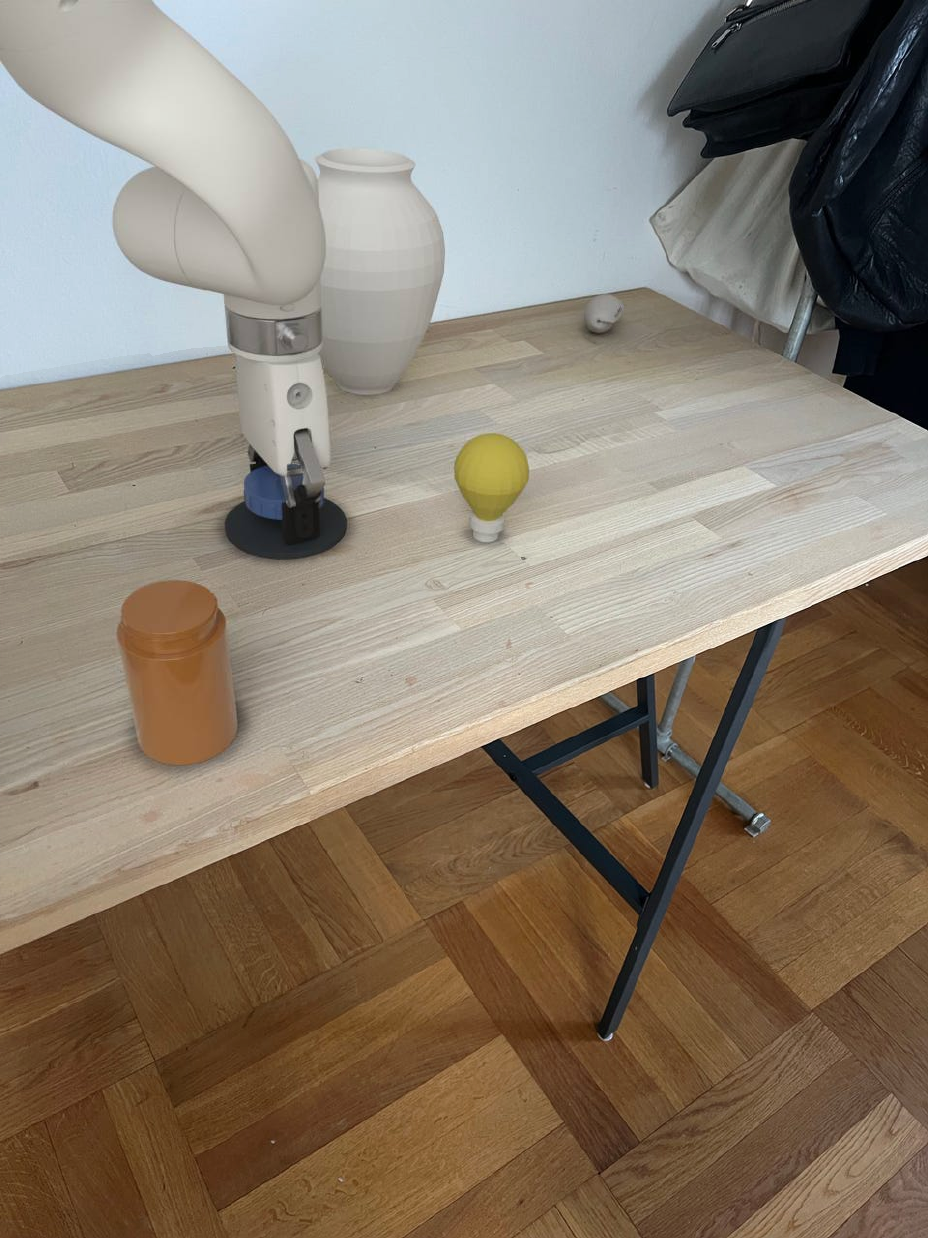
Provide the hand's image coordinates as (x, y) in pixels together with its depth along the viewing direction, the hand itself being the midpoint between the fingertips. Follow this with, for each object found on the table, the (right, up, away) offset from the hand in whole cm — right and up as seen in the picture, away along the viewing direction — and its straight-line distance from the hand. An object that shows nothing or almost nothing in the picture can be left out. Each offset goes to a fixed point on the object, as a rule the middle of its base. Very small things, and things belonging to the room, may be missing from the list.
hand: (285, 518), depth 84 cm
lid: (0, +3, -2) cm, 3 cm away
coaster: (0, -1, +1) cm, 1 cm away
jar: (-3, -17, -21) cm, 27 cm away
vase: (+4, +19, +28) cm, 34 cm away
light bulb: (+18, -2, +2) cm, 18 cm away
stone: (+36, +32, +48) cm, 68 cm away
